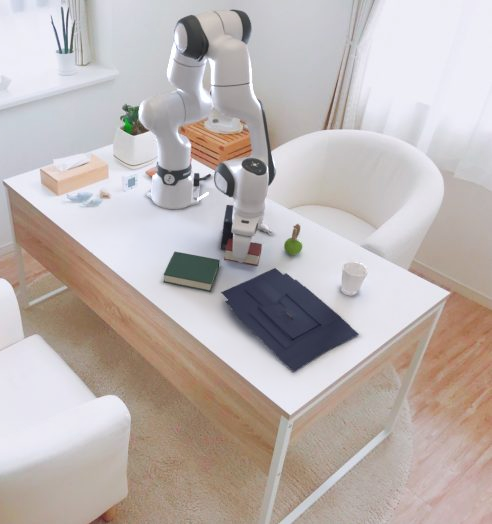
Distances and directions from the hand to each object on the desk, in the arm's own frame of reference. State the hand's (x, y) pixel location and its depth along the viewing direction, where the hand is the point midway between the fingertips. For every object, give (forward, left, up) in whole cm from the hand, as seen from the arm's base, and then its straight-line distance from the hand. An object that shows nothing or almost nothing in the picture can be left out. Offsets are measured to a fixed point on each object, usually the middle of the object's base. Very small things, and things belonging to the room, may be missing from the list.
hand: (242, 254), depth 173 cm
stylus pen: (-23, +1, -4) cm, 23 cm away
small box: (-11, -5, -4) cm, 13 cm away
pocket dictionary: (0, 0, -1) cm, 1 cm away
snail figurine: (-10, +14, -4) cm, 18 cm away
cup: (+2, +32, -4) cm, 32 cm away
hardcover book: (+10, -13, -4) cm, 17 cm away
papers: (+22, +15, -4) cm, 27 cm away
